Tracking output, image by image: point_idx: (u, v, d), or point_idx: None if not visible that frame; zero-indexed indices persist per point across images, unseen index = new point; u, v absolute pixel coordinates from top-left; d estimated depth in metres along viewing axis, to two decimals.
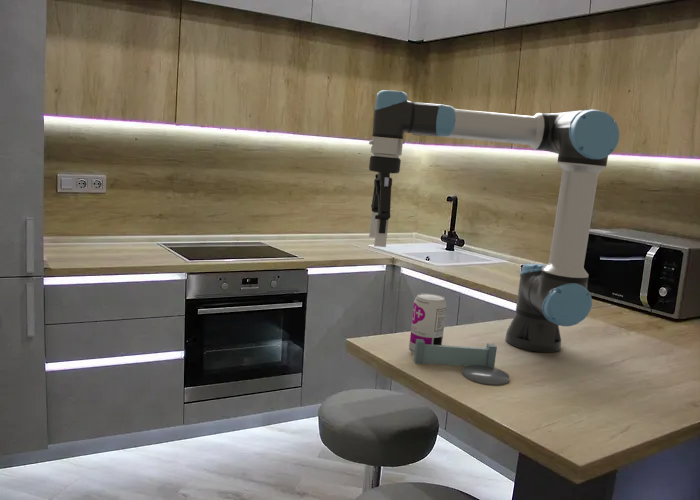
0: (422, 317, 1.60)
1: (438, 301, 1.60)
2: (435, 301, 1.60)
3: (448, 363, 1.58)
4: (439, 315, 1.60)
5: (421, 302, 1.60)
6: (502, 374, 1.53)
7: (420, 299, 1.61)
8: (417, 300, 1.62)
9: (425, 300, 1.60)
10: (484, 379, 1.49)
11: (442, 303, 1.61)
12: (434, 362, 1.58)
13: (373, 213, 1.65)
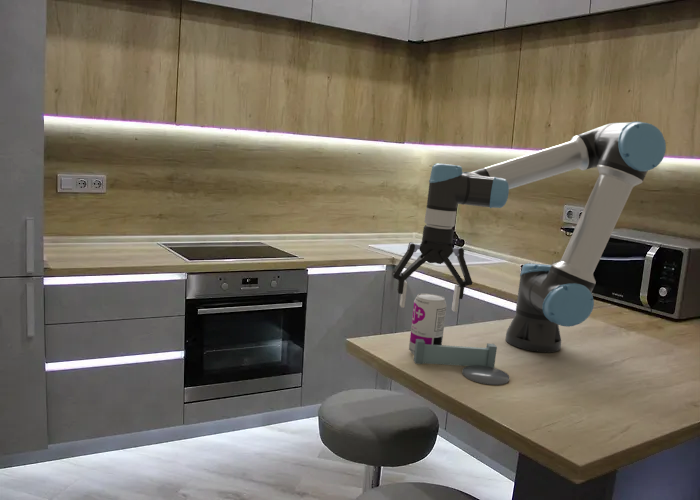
0: (422, 317, 1.60)
1: (438, 301, 1.60)
2: (435, 301, 1.60)
3: (448, 363, 1.58)
4: (439, 315, 1.60)
5: (421, 302, 1.60)
6: (502, 374, 1.53)
7: (420, 299, 1.61)
8: (417, 300, 1.62)
9: (425, 300, 1.60)
10: (484, 379, 1.49)
11: (442, 303, 1.61)
12: (434, 362, 1.58)
13: (455, 286, 1.64)
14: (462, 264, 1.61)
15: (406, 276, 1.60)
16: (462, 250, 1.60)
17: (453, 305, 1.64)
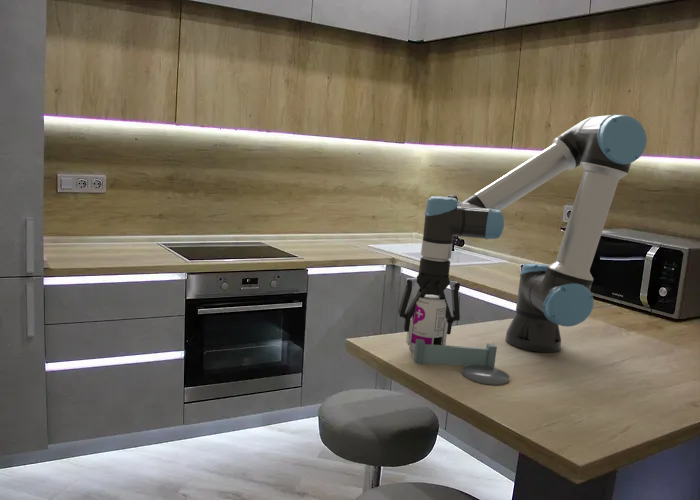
0: (422, 317, 1.60)
1: (438, 301, 1.60)
2: (435, 301, 1.60)
3: (448, 363, 1.58)
4: (439, 314, 1.60)
5: (421, 302, 1.60)
6: (502, 374, 1.53)
7: (420, 299, 1.61)
8: None
9: (425, 300, 1.60)
10: (484, 379, 1.49)
11: (442, 303, 1.61)
12: (434, 362, 1.58)
13: None
14: (455, 298, 1.62)
15: (411, 313, 1.62)
16: (458, 285, 1.62)
17: None
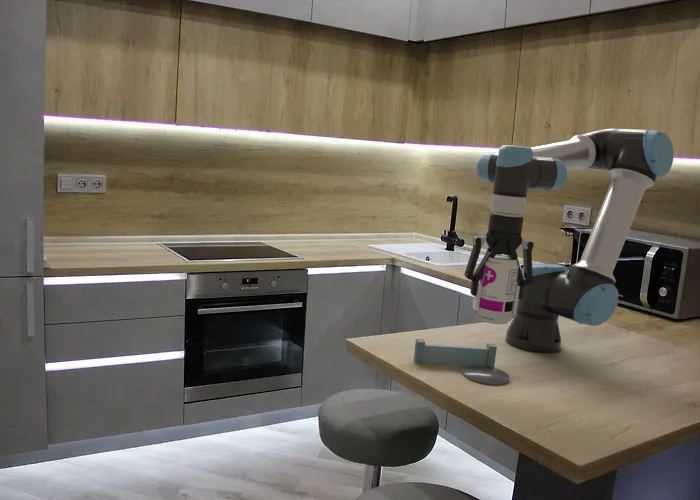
0: (493, 278, 1.45)
1: (510, 261, 1.45)
2: (507, 261, 1.45)
3: (448, 363, 1.58)
4: (511, 276, 1.45)
5: (491, 262, 1.45)
6: (502, 374, 1.53)
7: (490, 259, 1.46)
8: (487, 261, 1.47)
9: (496, 260, 1.45)
10: (484, 379, 1.49)
11: (514, 263, 1.46)
12: (434, 362, 1.58)
13: None
14: (527, 259, 1.47)
15: (480, 275, 1.47)
16: (532, 244, 1.47)
17: None
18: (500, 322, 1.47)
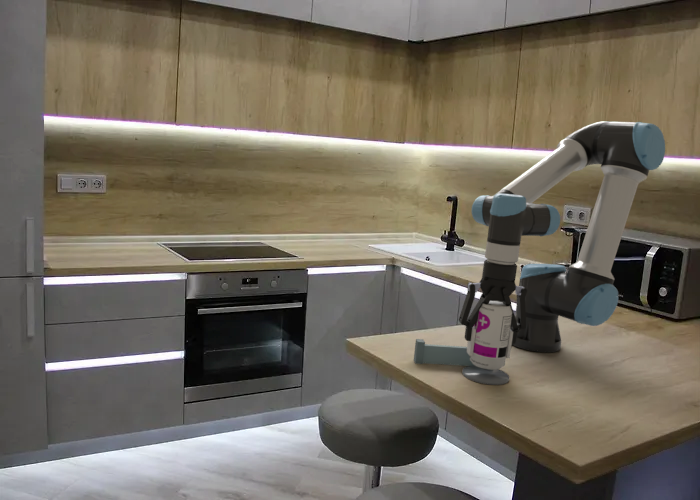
0: (487, 325, 1.47)
1: (504, 308, 1.47)
2: (501, 308, 1.47)
3: (448, 363, 1.58)
4: (505, 323, 1.47)
5: (485, 309, 1.47)
6: (502, 374, 1.53)
7: (484, 306, 1.48)
8: (481, 307, 1.48)
9: (490, 307, 1.47)
10: (484, 379, 1.49)
11: (508, 310, 1.47)
12: (434, 362, 1.58)
13: None
14: (521, 305, 1.49)
15: (474, 321, 1.49)
16: (525, 290, 1.49)
17: None
18: (494, 367, 1.49)
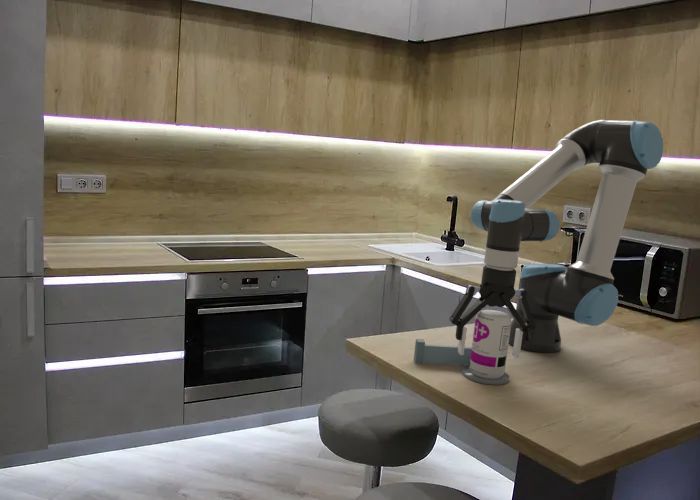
0: (486, 335, 1.48)
1: (503, 318, 1.47)
2: (500, 318, 1.47)
3: (448, 363, 1.58)
4: (504, 332, 1.47)
5: (485, 319, 1.48)
6: None
7: (483, 315, 1.48)
8: (480, 316, 1.49)
9: (489, 316, 1.47)
10: (484, 379, 1.49)
11: (507, 319, 1.48)
12: (434, 362, 1.58)
13: (516, 330, 1.52)
14: (525, 307, 1.49)
15: (465, 321, 1.49)
16: (525, 292, 1.49)
17: (514, 350, 1.52)
18: (493, 377, 1.49)
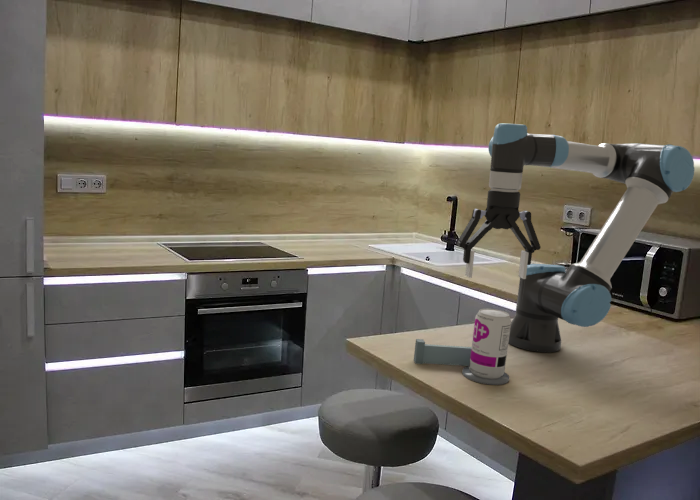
0: (486, 334, 1.48)
1: (503, 317, 1.47)
2: (500, 317, 1.47)
3: (448, 363, 1.58)
4: (504, 332, 1.47)
5: (484, 318, 1.48)
6: None
7: (483, 315, 1.48)
8: (480, 316, 1.49)
9: (489, 316, 1.47)
10: (484, 379, 1.49)
11: (507, 319, 1.48)
12: (434, 362, 1.58)
13: (522, 251, 1.57)
14: (529, 228, 1.54)
15: (473, 244, 1.53)
16: (529, 213, 1.53)
17: (521, 272, 1.57)
18: (493, 377, 1.49)
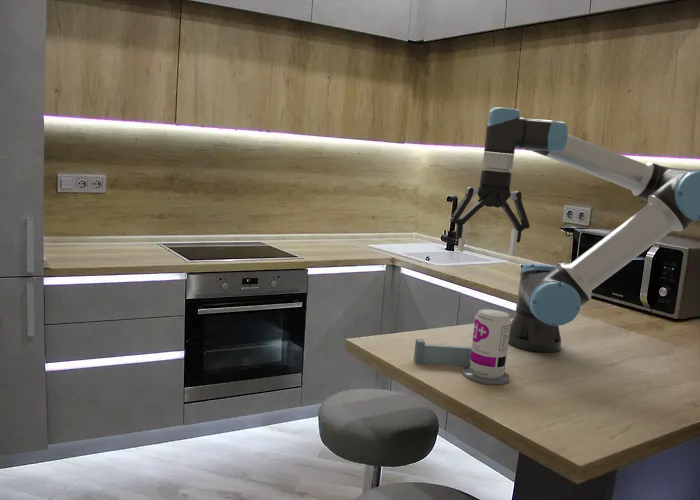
0: (486, 335, 1.48)
1: (503, 318, 1.47)
2: (500, 318, 1.47)
3: (448, 363, 1.58)
4: (504, 332, 1.47)
5: (484, 319, 1.48)
6: None
7: (483, 315, 1.48)
8: (480, 317, 1.49)
9: (489, 316, 1.47)
10: (484, 379, 1.49)
11: (507, 319, 1.48)
12: (434, 362, 1.58)
13: (512, 230, 1.67)
14: (520, 207, 1.64)
15: (465, 220, 1.63)
16: (520, 193, 1.63)
17: (510, 249, 1.67)
18: (493, 377, 1.49)
